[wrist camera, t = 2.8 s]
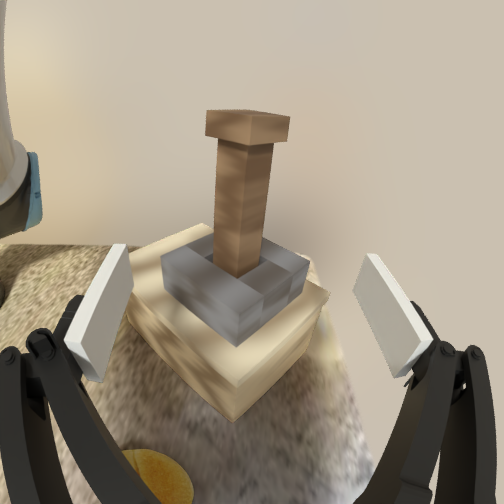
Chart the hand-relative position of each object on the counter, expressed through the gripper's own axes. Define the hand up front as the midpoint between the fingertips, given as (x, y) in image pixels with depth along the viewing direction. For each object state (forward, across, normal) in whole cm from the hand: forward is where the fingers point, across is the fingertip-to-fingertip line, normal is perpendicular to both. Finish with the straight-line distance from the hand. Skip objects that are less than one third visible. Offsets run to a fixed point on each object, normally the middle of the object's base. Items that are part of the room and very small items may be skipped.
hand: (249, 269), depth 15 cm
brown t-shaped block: (+9, 0, -10) cm, 14 cm away
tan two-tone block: (+12, -2, -20) cm, 23 cm away
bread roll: (-9, -9, -20) cm, 24 cm away
